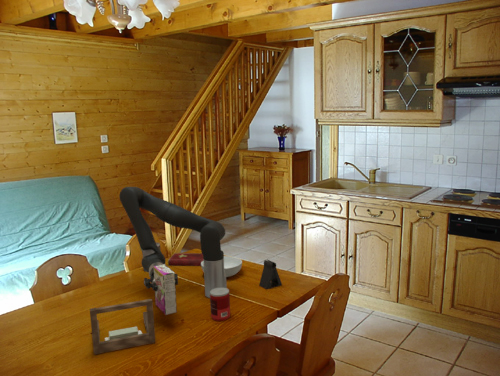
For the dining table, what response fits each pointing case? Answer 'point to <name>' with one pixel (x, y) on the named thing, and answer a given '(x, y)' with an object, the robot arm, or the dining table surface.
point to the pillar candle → (149, 252)
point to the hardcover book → (185, 259)
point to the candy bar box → (165, 289)
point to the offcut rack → (125, 341)
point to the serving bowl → (229, 265)
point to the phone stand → (270, 276)
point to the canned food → (220, 304)
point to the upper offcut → (123, 333)
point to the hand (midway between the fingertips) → (164, 287)
